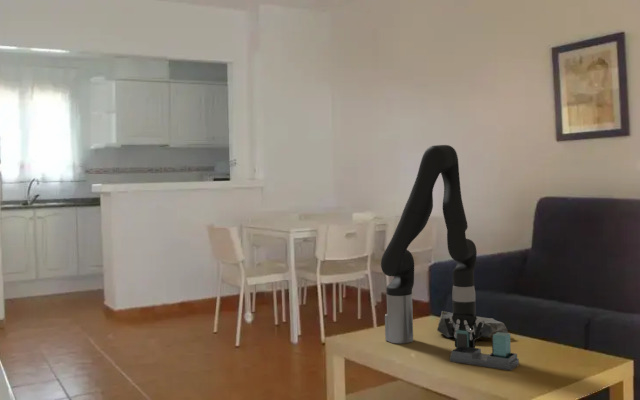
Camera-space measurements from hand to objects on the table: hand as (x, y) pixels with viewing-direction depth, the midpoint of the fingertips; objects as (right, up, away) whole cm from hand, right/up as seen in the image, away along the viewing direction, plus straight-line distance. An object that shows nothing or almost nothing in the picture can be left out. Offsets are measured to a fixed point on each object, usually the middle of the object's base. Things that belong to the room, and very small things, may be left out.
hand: (465, 349), depth 226 cm
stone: (+8, -1, +24) cm, 26 cm away
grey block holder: (+3, -2, -12) cm, 13 cm away
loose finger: (0, -1, 0) cm, 1 cm away
